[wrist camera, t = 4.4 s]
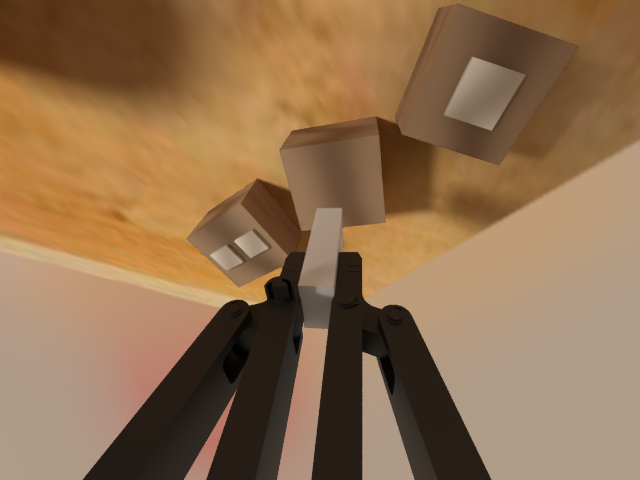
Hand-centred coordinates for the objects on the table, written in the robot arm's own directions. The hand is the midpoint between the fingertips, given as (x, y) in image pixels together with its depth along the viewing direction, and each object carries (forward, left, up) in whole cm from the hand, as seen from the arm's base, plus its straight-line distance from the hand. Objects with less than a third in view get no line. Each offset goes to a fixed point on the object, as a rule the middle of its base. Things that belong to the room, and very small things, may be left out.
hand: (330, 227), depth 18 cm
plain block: (0, 0, -10) cm, 10 cm away
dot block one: (+9, +6, -10) cm, 15 cm away
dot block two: (-9, -6, -10) cm, 15 cm away
